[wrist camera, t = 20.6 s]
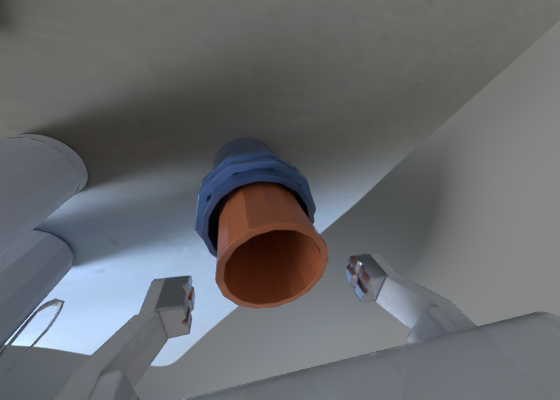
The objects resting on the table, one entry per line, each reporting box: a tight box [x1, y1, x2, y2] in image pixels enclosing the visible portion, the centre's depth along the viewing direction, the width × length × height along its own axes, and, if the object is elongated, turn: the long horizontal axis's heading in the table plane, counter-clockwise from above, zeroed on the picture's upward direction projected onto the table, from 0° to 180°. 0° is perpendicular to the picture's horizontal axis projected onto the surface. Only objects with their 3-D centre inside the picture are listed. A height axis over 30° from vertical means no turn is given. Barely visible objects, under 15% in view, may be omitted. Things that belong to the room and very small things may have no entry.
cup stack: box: [202, 138, 314, 258], centre depth 19 cm, size 8×8×12 cm
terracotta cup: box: [215, 181, 328, 309], centre depth 15 cm, size 6×6×10 cm
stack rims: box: [195, 151, 316, 239], centre depth 16 cm, size 9×9×2 cm
